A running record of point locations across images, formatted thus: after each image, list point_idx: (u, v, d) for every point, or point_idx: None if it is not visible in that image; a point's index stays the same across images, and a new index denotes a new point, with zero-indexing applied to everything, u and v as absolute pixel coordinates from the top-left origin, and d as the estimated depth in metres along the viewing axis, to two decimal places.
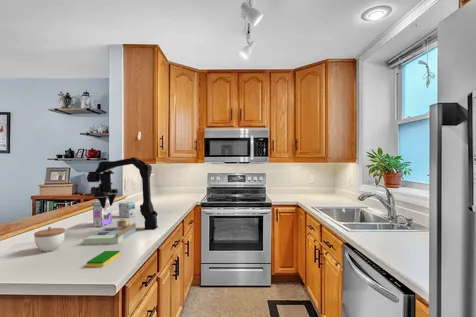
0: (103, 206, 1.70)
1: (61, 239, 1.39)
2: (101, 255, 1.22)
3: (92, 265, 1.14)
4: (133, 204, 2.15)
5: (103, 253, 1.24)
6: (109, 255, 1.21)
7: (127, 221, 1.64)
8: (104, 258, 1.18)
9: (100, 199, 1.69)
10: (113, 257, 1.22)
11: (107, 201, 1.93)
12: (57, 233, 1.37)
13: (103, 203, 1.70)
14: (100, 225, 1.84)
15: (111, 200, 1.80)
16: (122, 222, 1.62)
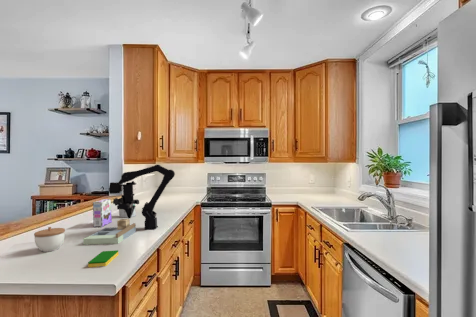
0: (129, 216, 1.72)
1: (61, 239, 1.39)
2: (101, 255, 1.21)
3: (94, 265, 1.14)
4: (133, 204, 2.15)
5: (102, 253, 1.24)
6: (109, 255, 1.21)
7: (127, 221, 1.64)
8: (105, 258, 1.18)
9: (126, 209, 1.71)
10: (113, 257, 1.22)
11: (107, 201, 1.93)
12: (57, 233, 1.37)
13: (129, 213, 1.71)
14: (100, 225, 1.84)
15: None
16: (122, 222, 1.62)
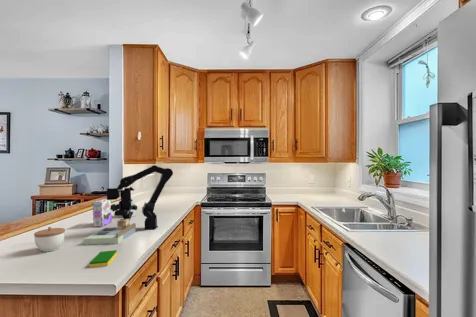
0: None
1: (61, 239, 1.39)
2: (100, 255, 1.21)
3: (96, 265, 1.14)
4: (133, 204, 2.15)
5: (101, 253, 1.24)
6: (109, 255, 1.22)
7: (127, 221, 1.64)
8: (106, 258, 1.18)
9: (124, 216, 1.68)
10: (113, 256, 1.23)
11: (107, 201, 1.93)
12: (57, 233, 1.37)
13: None
14: (100, 225, 1.84)
15: None
16: (122, 222, 1.62)
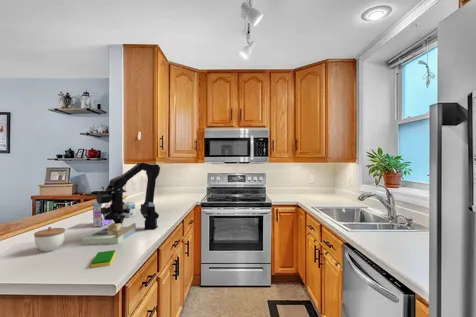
0: None
1: (61, 239, 1.39)
2: (100, 255, 1.21)
3: (98, 265, 1.14)
4: (133, 204, 2.15)
5: (100, 254, 1.23)
6: (109, 254, 1.22)
7: (118, 226, 1.53)
8: (107, 257, 1.18)
9: (115, 220, 1.57)
10: (113, 256, 1.23)
11: None
12: (57, 233, 1.37)
13: None
14: (100, 225, 1.84)
15: None
16: (113, 227, 1.51)
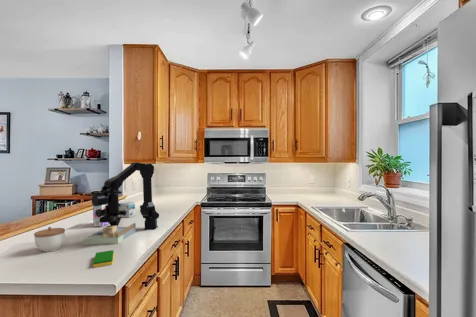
0: None
1: (61, 239, 1.39)
2: (100, 256, 1.21)
3: (100, 265, 1.14)
4: (133, 204, 2.15)
5: (99, 254, 1.23)
6: (109, 254, 1.22)
7: (114, 228, 1.48)
8: (108, 257, 1.19)
9: (111, 222, 1.51)
10: None
11: None
12: (57, 233, 1.37)
13: None
14: (100, 225, 1.84)
15: (115, 225, 1.53)
16: (108, 229, 1.46)
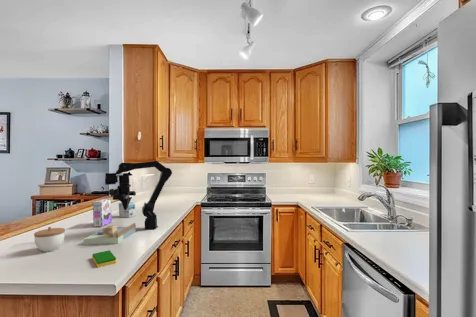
0: (125, 208, 1.68)
1: (61, 239, 1.39)
2: (99, 256, 1.21)
3: (104, 264, 1.15)
4: (133, 204, 2.15)
5: (97, 255, 1.22)
6: (109, 254, 1.22)
7: (114, 228, 1.48)
8: (110, 256, 1.19)
9: (122, 201, 1.67)
10: None
11: (107, 201, 1.93)
12: (57, 233, 1.37)
13: (125, 205, 1.68)
14: (100, 225, 1.84)
15: None
16: (108, 229, 1.46)
